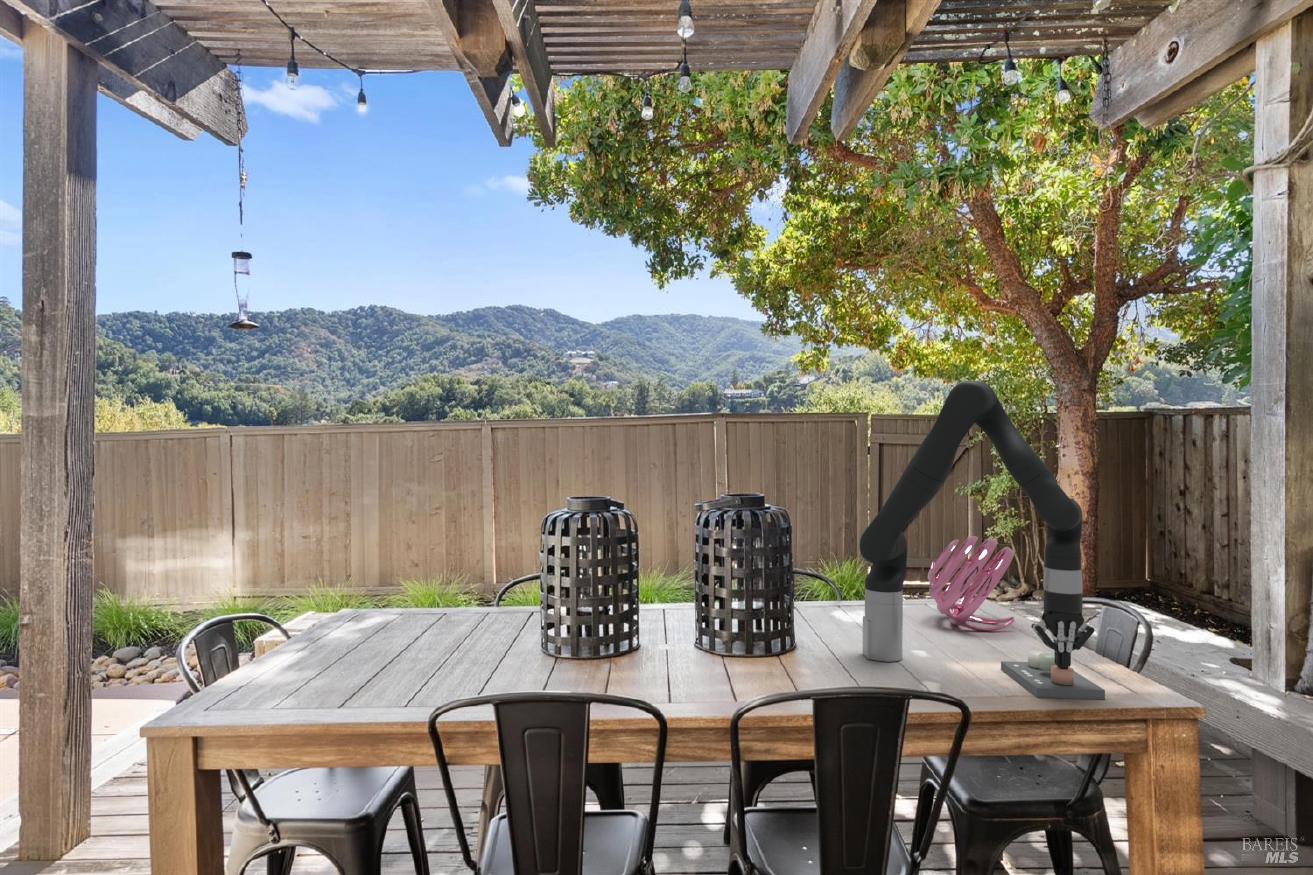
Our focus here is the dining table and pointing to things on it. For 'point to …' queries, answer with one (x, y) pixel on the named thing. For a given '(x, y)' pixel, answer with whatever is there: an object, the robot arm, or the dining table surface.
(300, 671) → the dining table surface
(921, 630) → the dining table surface
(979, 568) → the spiral basket
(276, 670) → the dining table surface
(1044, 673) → the charcoal panel
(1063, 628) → the robot arm
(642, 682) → the dining table surface
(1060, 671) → the terracotta button
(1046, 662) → the sage button
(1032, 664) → the cream button
